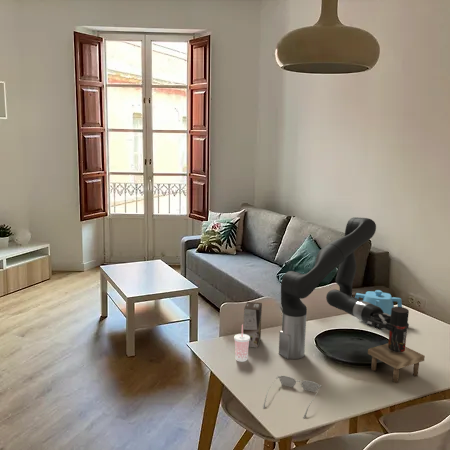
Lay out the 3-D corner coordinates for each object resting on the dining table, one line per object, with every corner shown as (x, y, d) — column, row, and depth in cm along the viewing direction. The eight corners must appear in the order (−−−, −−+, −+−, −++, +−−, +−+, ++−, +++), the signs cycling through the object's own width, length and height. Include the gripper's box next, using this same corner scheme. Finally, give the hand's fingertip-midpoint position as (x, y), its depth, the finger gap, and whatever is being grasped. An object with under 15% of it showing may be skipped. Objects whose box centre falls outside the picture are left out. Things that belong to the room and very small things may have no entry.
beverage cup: (252, 360, 203) (253, 325, 201) (238, 363, 200) (239, 328, 197) (243, 354, 208) (244, 320, 206) (230, 357, 205) (231, 323, 203)
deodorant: (402, 353, 190) (406, 314, 187) (386, 349, 193) (389, 310, 190) (406, 347, 195) (410, 309, 192) (390, 343, 198) (393, 305, 195)
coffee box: (258, 347, 215) (259, 309, 211) (242, 346, 216) (243, 308, 213) (261, 338, 223) (262, 302, 220) (246, 337, 225) (247, 301, 221)
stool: (395, 385, 186) (397, 363, 185) (366, 368, 198) (368, 348, 197) (422, 376, 193) (424, 355, 192) (393, 360, 205) (394, 341, 204)
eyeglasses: (320, 394, 180) (321, 383, 179) (306, 421, 164) (307, 409, 163) (277, 384, 186) (277, 374, 185) (259, 409, 170) (260, 398, 169)
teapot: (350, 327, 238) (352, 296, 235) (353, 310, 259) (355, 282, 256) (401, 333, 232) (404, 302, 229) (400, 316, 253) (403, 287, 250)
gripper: (354, 306, 201) (388, 321, 187) (381, 300, 208) (416, 314, 194) (353, 325, 202) (386, 341, 188) (380, 318, 210) (414, 334, 195)
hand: (401, 328), depth 191 cm, fingers closed on deodorant, 6 cm apart
